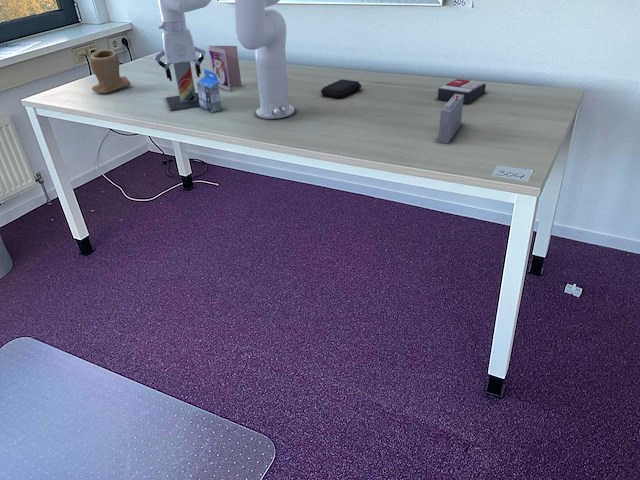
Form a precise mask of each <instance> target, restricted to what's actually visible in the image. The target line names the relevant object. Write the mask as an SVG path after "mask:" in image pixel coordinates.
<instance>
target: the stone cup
mask: <svg viewBox="0 0 640 480" xmlns="http://www.w3.org/2000/svg"><path fill="white" fill-rule="evenodd" d="M89 63H90V67H91V70H92V73H93V74H94V75H95V77H96V79H97V81H98V83H97V84H95V85H93V86H92V87H91V90H92V91H93V92H95V93H99V94H106V93H110V92H114V91H117V90H120V89H123V88H125V87H128V86H131V81H130V80H129V79H128V77H127V76H126V75H122V76H120V59H119V57H118V54H117V52H116V51H115V50H112V49H100V50H97V51H95V52H94V53H92V54H91V55H90V56H89Z"/></svg>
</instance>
